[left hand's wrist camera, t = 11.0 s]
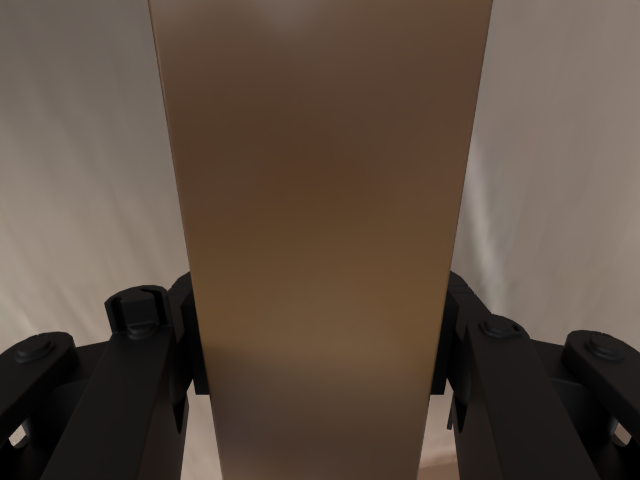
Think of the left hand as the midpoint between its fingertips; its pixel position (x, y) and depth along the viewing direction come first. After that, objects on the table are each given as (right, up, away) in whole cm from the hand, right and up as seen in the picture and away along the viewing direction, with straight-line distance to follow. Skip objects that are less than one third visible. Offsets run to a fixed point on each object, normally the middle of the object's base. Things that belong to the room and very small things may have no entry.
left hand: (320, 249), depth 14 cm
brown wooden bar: (0, +20, -7) cm, 21 cm away
